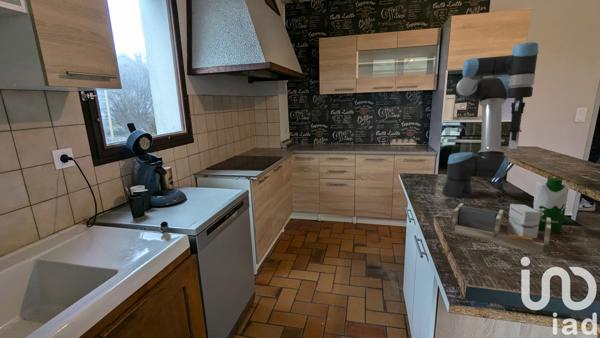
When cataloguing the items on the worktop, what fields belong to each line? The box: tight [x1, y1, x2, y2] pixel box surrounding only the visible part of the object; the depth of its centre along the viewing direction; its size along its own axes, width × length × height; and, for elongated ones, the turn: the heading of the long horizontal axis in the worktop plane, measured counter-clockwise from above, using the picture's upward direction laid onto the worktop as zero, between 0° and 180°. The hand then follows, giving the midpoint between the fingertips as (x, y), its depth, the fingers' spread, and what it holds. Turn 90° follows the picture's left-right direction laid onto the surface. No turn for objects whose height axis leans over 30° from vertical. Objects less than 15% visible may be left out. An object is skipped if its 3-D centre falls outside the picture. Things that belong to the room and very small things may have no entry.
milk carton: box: [532, 177, 570, 234], centre depth 104 cm, size 9×9×20 cm
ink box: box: [507, 203, 541, 242], centre depth 93 cm, size 9×5×12 cm, turn 171°
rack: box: [450, 202, 551, 257], centre depth 98 cm, size 12×27×9 cm, turn 48°
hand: (512, 148), depth 108 cm, fingers closed
